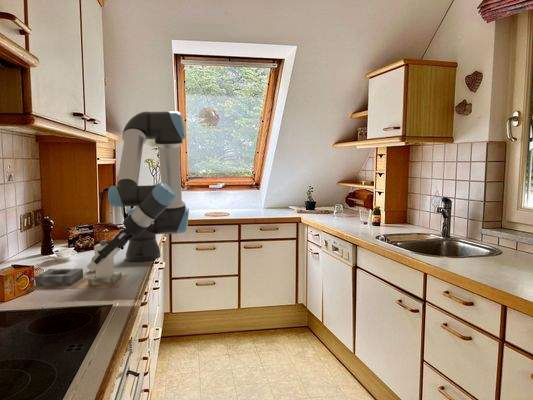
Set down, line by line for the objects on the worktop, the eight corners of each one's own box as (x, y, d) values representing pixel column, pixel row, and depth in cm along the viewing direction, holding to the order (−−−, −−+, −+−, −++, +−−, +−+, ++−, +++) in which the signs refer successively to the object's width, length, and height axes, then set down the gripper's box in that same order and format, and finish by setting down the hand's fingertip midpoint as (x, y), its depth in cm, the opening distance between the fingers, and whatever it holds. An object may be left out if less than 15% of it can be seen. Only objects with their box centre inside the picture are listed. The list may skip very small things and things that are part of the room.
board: (132, 278, 156) (132, 264, 156) (117, 292, 140) (116, 276, 140) (52, 280, 156) (51, 266, 156) (27, 293, 140) (26, 278, 140)
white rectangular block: (114, 279, 150) (112, 239, 149) (110, 282, 146) (108, 241, 145) (100, 279, 150) (98, 239, 149) (96, 283, 146) (93, 241, 145)
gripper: (135, 234, 134) (91, 281, 135) (156, 223, 159) (118, 262, 160) (118, 218, 134) (73, 265, 135) (141, 209, 158) (103, 249, 160)
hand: (97, 264), depth 148 cm, fingers open, 13 cm apart
